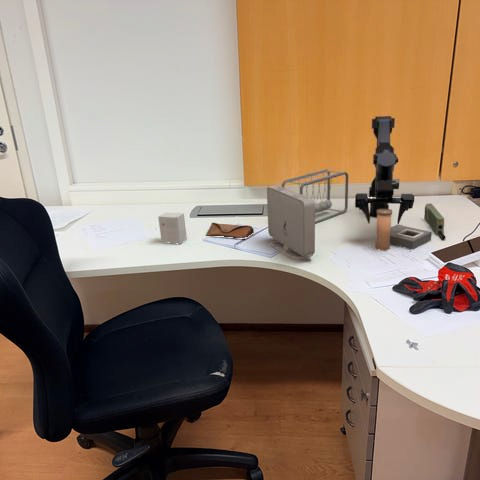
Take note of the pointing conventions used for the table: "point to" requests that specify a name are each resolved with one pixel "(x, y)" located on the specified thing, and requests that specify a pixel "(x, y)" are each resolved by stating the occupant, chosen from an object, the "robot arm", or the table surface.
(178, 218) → the small box
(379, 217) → the plug
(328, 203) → the newton's cradle
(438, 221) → the handheld radio
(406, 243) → the block
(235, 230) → the sunglasses case
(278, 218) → the network device
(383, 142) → the robot arm
